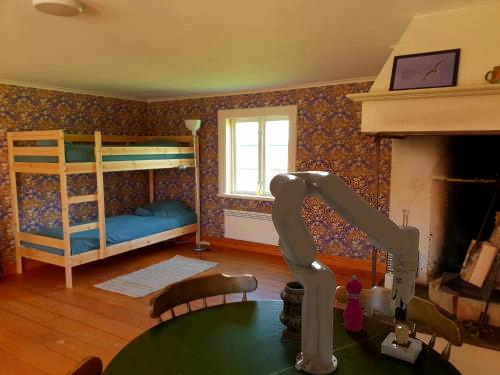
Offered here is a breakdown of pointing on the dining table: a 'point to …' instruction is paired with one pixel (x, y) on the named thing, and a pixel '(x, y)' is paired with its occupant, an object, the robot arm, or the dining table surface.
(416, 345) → the jig
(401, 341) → the cylinder
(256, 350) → the dining table surface
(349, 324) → the pepper mill
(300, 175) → the robot arm
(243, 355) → the dining table surface
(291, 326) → the apothecary jar
